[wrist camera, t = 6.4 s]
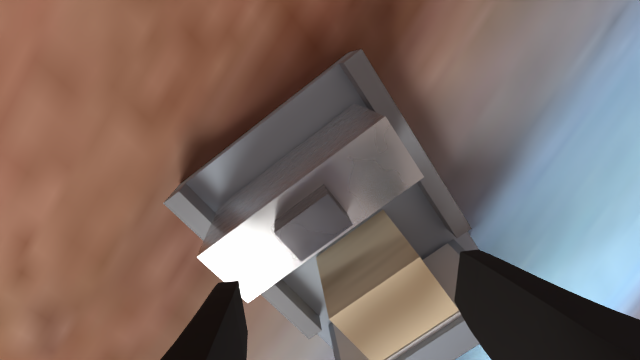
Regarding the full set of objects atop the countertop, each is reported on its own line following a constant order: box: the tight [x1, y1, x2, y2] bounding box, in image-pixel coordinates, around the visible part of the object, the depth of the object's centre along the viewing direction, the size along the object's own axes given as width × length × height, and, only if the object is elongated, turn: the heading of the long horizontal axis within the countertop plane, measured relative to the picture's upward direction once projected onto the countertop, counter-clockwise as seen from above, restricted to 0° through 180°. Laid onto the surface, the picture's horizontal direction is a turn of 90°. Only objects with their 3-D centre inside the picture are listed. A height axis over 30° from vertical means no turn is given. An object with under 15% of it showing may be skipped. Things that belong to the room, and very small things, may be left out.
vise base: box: [163, 49, 480, 360], centre depth 17 cm, size 15×12×6 cm
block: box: [316, 210, 459, 360], centre depth 17 cm, size 4×5×5 cm
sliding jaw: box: [197, 104, 424, 303], centre depth 14 cm, size 3×9×6 cm, turn 126°
